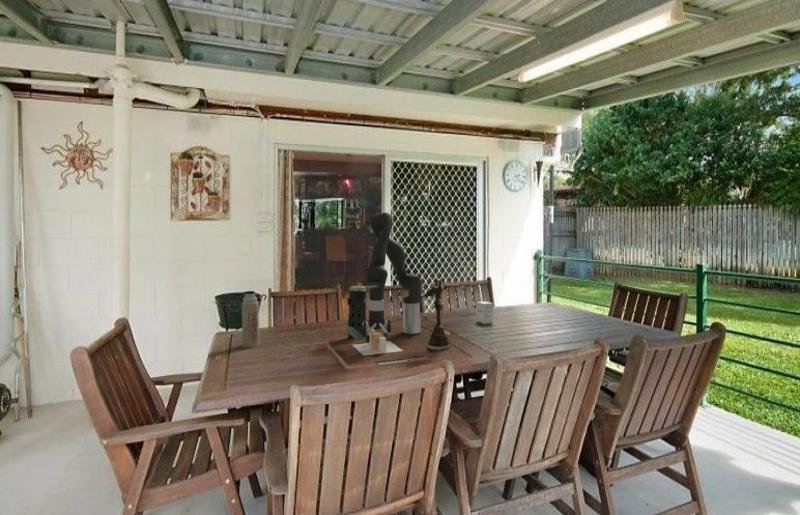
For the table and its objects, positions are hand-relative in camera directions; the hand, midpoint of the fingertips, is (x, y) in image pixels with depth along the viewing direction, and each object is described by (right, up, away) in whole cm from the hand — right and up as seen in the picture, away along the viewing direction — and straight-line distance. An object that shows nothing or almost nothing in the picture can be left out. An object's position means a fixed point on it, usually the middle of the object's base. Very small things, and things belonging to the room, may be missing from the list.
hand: (376, 341), depth 225 cm
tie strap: (-10, +4, -4) cm, 12 cm away
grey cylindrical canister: (+65, 0, +63) cm, 91 cm away
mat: (+7, -6, -15) cm, 18 cm away
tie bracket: (0, -5, 0) cm, 5 cm away
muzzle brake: (-12, -3, +26) cm, 28 cm away
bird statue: (+29, -4, +10) cm, 31 cm away
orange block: (+1, -3, -1) cm, 4 cm away
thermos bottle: (-64, -4, +9) cm, 65 cm away
